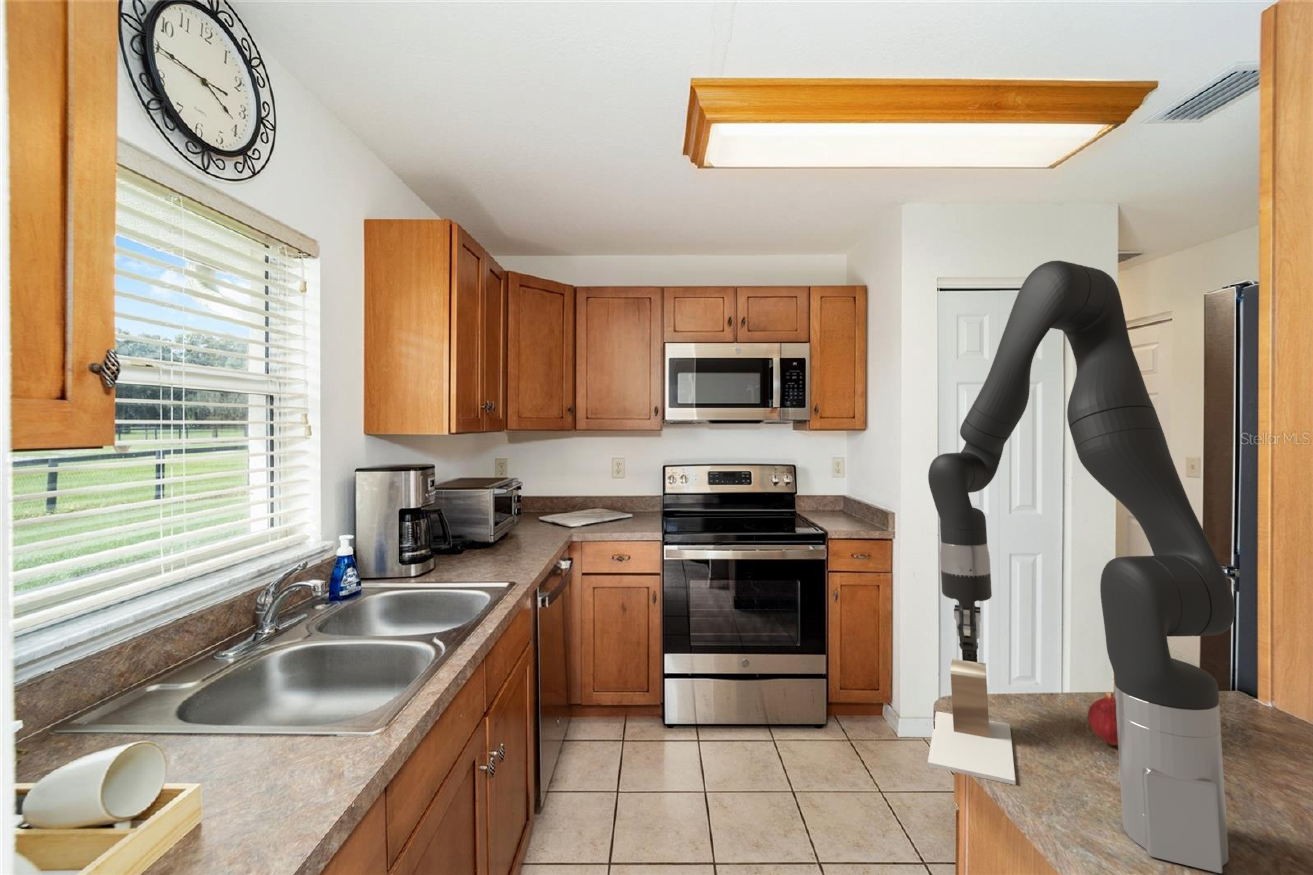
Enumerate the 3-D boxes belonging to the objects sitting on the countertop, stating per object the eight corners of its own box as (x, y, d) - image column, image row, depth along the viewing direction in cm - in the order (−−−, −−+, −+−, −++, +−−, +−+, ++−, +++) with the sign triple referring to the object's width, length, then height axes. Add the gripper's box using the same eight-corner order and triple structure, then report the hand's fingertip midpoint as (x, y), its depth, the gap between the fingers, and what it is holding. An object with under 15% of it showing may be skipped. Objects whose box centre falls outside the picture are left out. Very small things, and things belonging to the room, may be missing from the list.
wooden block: (989, 738, 91) (985, 675, 91) (953, 731, 93) (950, 670, 93) (988, 723, 95) (985, 663, 95) (954, 717, 97) (951, 659, 97)
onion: (1144, 758, 84) (1141, 703, 85) (1098, 752, 86) (1095, 699, 86) (1126, 738, 90) (1124, 687, 90) (1083, 734, 92) (1080, 684, 92)
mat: (1015, 785, 79) (1015, 780, 79) (927, 766, 85) (927, 762, 85) (1009, 727, 95) (1009, 724, 95) (936, 714, 100) (936, 711, 100)
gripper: (990, 579, 90) (996, 689, 90) (990, 562, 102) (995, 660, 102) (938, 575, 94) (943, 681, 94) (943, 560, 106) (948, 654, 105)
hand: (970, 670), depth 98 cm, fingers closed
